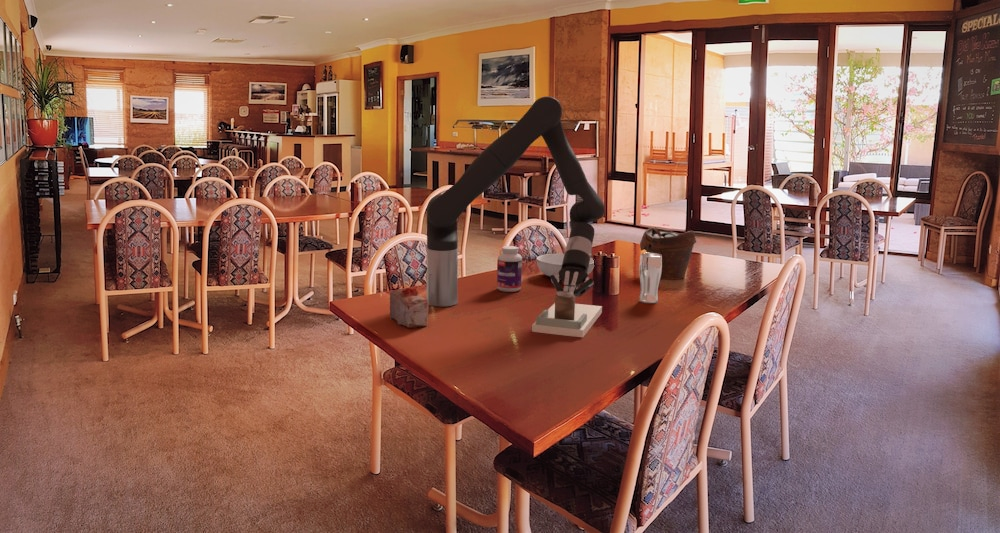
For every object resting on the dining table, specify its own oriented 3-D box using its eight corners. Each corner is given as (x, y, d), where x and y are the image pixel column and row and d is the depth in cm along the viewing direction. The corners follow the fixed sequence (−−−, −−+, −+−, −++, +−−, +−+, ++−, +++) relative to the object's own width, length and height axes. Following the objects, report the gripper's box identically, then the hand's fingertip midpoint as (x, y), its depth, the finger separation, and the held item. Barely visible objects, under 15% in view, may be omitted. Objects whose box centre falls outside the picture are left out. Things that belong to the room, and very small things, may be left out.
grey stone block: (432, 327, 200) (432, 292, 197) (406, 331, 195) (406, 296, 193) (410, 315, 211) (410, 282, 209) (385, 319, 206) (384, 285, 204)
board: (556, 308, 221) (556, 295, 220) (601, 312, 216) (602, 299, 215) (532, 331, 197) (532, 317, 196) (582, 337, 192) (583, 323, 191)
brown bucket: (637, 268, 278) (640, 222, 274) (690, 271, 275) (694, 224, 271) (639, 280, 260) (642, 230, 256) (696, 283, 258) (700, 233, 254)
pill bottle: (493, 291, 240) (493, 248, 237) (502, 286, 247) (503, 244, 244) (516, 293, 237) (517, 250, 234) (524, 288, 244) (525, 246, 241)
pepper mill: (557, 325, 196) (558, 295, 194) (552, 319, 201) (553, 290, 199) (576, 324, 197) (577, 295, 195) (571, 319, 202) (572, 290, 200)
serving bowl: (578, 287, 248) (579, 267, 247) (525, 278, 259) (526, 259, 257) (603, 276, 265) (604, 257, 264) (552, 268, 276) (553, 251, 275)
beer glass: (661, 299, 233) (664, 253, 229) (656, 304, 226) (659, 257, 223) (640, 297, 235) (643, 251, 232) (634, 302, 229) (637, 255, 226)
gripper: (553, 246, 209) (540, 298, 200) (598, 250, 205) (588, 302, 196) (557, 261, 215) (545, 311, 207) (601, 264, 211) (591, 316, 202)
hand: (566, 307), depth 201 cm, fingers closed
